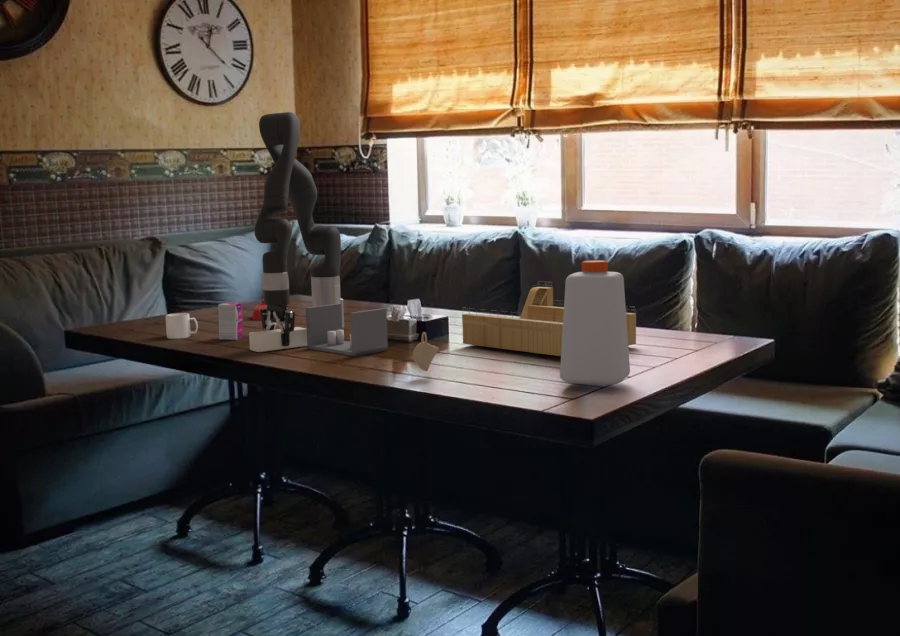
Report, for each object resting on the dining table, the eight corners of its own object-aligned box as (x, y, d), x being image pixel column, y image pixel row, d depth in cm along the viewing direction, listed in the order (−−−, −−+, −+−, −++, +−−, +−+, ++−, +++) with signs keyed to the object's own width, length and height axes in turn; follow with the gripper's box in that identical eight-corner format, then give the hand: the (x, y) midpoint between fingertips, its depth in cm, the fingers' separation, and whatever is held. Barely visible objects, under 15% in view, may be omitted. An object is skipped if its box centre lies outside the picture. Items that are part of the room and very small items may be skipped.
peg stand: (307, 348, 295) (305, 307, 293) (339, 343, 303) (338, 303, 301) (355, 356, 280) (353, 313, 278) (387, 350, 288) (386, 308, 286)
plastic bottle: (555, 383, 236) (554, 263, 232) (571, 371, 250) (571, 258, 246) (620, 386, 231) (620, 264, 227) (633, 374, 244) (633, 258, 241)
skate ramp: (462, 347, 293) (461, 291, 291) (539, 332, 318) (538, 281, 316) (574, 361, 265) (573, 300, 263) (648, 344, 291) (648, 288, 289)
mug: (198, 335, 326) (197, 312, 325) (198, 339, 319) (196, 315, 318) (167, 337, 324) (166, 313, 323) (166, 340, 317) (164, 316, 316)
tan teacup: (415, 366, 257) (404, 359, 253) (431, 338, 258) (420, 330, 254) (426, 372, 255) (415, 364, 251) (443, 343, 256) (432, 335, 252)
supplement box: (236, 341, 312) (234, 304, 310) (218, 341, 313) (216, 304, 311) (244, 338, 317) (242, 302, 316) (226, 338, 318) (224, 302, 317)
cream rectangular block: (299, 343, 303) (298, 326, 302) (308, 345, 298) (307, 328, 298) (249, 349, 294) (249, 332, 293) (257, 352, 289) (257, 334, 289)
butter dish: (282, 324, 349) (281, 300, 348) (248, 326, 347) (247, 301, 346) (282, 320, 360) (281, 296, 359) (249, 321, 358) (248, 298, 357)
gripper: (301, 288, 291) (304, 345, 294) (272, 285, 301) (274, 341, 304) (280, 290, 286) (283, 349, 288) (250, 287, 296) (253, 344, 298)
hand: (278, 344), depth 296 cm, fingers closed on cream rectangular block, 6 cm apart
